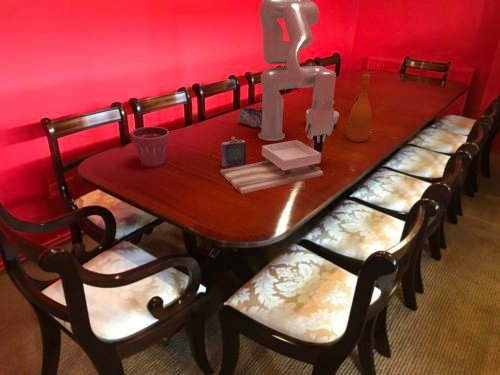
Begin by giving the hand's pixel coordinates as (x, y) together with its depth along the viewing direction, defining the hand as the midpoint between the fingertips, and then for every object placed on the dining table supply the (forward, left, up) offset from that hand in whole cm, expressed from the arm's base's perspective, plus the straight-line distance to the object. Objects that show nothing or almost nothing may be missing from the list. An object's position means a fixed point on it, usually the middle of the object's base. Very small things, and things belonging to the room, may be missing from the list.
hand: (317, 150), depth 150 cm
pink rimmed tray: (0, -13, -4) cm, 13 cm away
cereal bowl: (-41, +32, -6) cm, 52 cm away
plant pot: (-31, -58, -6) cm, 66 cm away
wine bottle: (-17, +35, -6) cm, 40 cm away
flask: (-15, -30, -6) cm, 34 cm away
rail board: (0, -21, -6) cm, 21 cm away
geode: (-55, +2, -6) cm, 56 cm away
